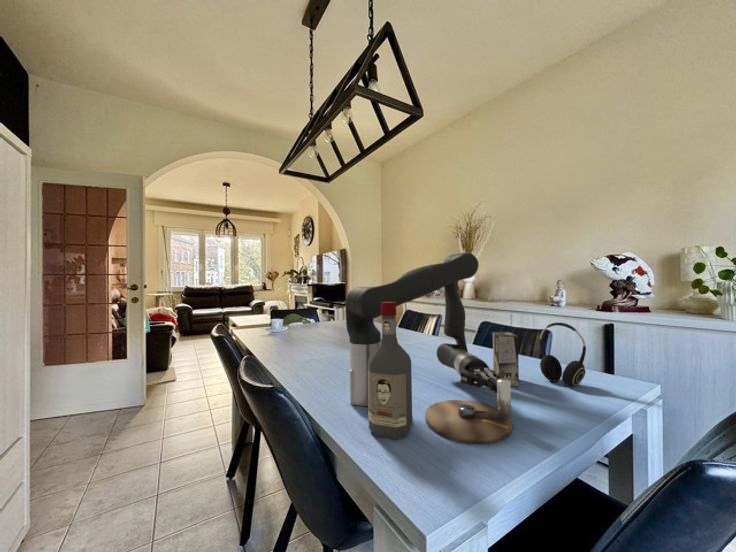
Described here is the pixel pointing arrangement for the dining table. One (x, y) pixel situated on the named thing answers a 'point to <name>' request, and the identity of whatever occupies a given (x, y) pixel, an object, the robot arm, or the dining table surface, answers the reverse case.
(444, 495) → the dining table surface
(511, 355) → the coffee box
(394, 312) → the liquor
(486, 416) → the silver bent piece
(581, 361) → the headphones
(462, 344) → the robot arm
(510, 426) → the round wooden board
